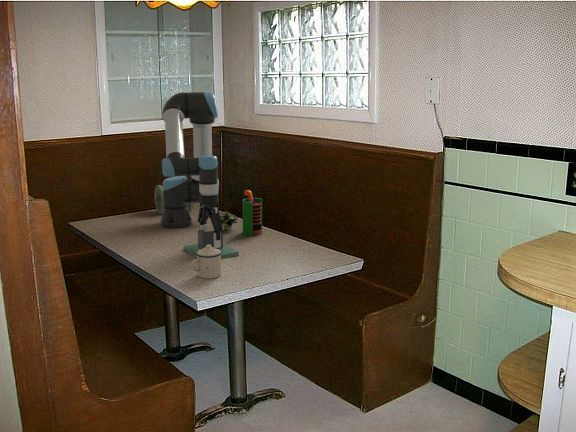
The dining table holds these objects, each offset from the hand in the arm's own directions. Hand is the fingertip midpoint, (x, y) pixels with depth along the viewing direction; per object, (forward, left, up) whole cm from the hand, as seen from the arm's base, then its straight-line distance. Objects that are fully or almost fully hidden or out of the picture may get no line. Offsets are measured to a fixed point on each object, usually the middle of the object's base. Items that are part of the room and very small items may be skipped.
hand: (210, 243), depth 266 cm
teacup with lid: (+27, -14, -4) cm, 31 cm away
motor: (-18, +29, -4) cm, 34 cm away
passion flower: (-27, +20, -4) cm, 34 cm away
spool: (-78, +14, -4) cm, 79 cm away
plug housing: (0, 0, -2) cm, 2 cm away
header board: (0, 0, -4) cm, 4 cm away
